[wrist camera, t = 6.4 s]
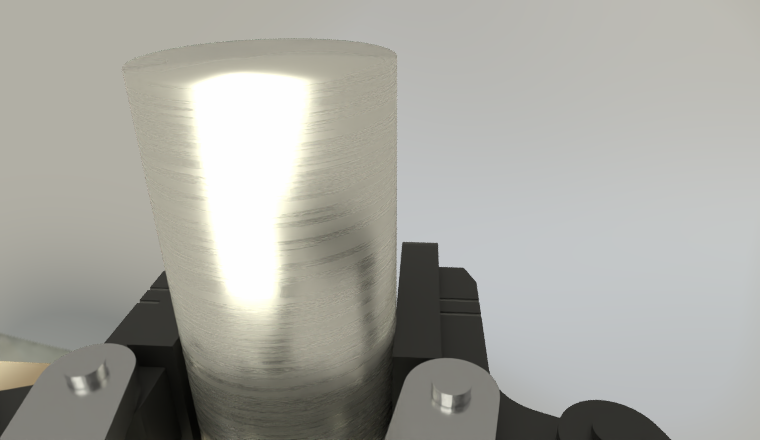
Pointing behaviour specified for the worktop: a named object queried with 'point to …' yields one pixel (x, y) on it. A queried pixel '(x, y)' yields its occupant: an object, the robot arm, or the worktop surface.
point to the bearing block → (19, 374)
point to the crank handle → (276, 229)
